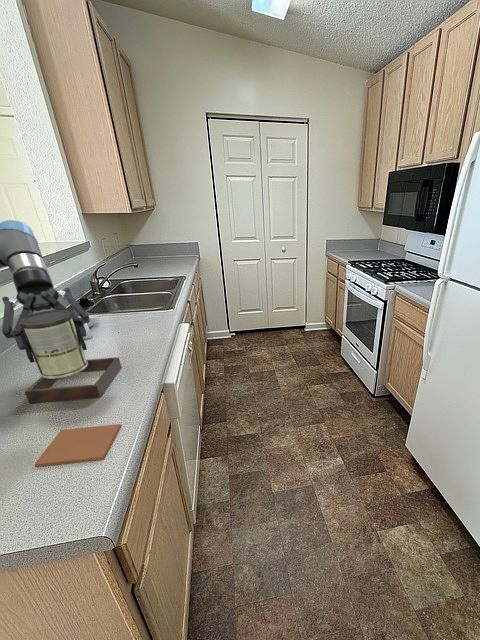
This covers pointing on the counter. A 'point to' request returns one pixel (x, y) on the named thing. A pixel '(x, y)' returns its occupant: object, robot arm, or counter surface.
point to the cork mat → (79, 445)
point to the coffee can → (54, 343)
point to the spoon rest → (87, 325)
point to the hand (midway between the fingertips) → (59, 353)
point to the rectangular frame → (44, 393)
